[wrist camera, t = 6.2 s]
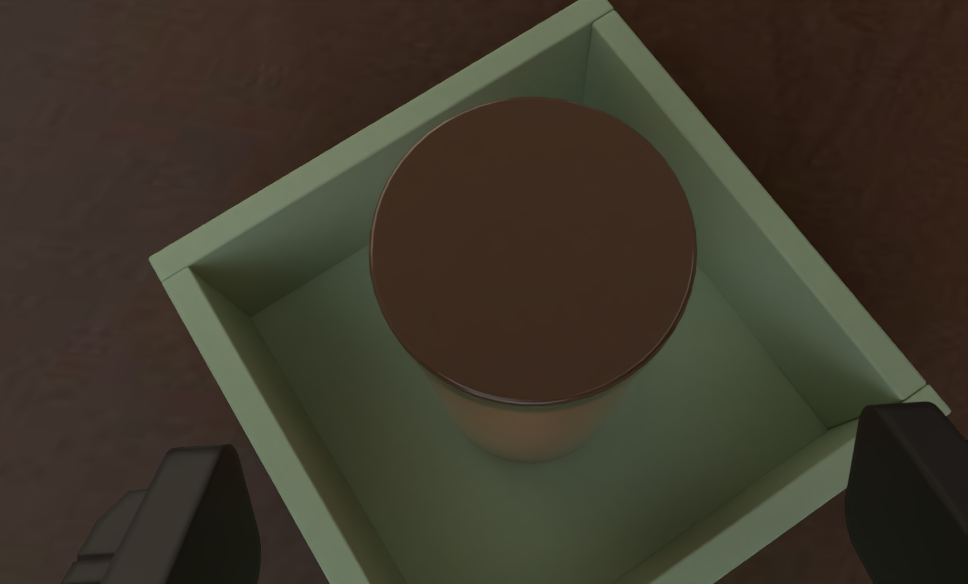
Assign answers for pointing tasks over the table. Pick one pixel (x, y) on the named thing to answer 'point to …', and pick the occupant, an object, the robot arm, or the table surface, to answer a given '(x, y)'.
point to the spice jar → (532, 268)
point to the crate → (636, 419)
